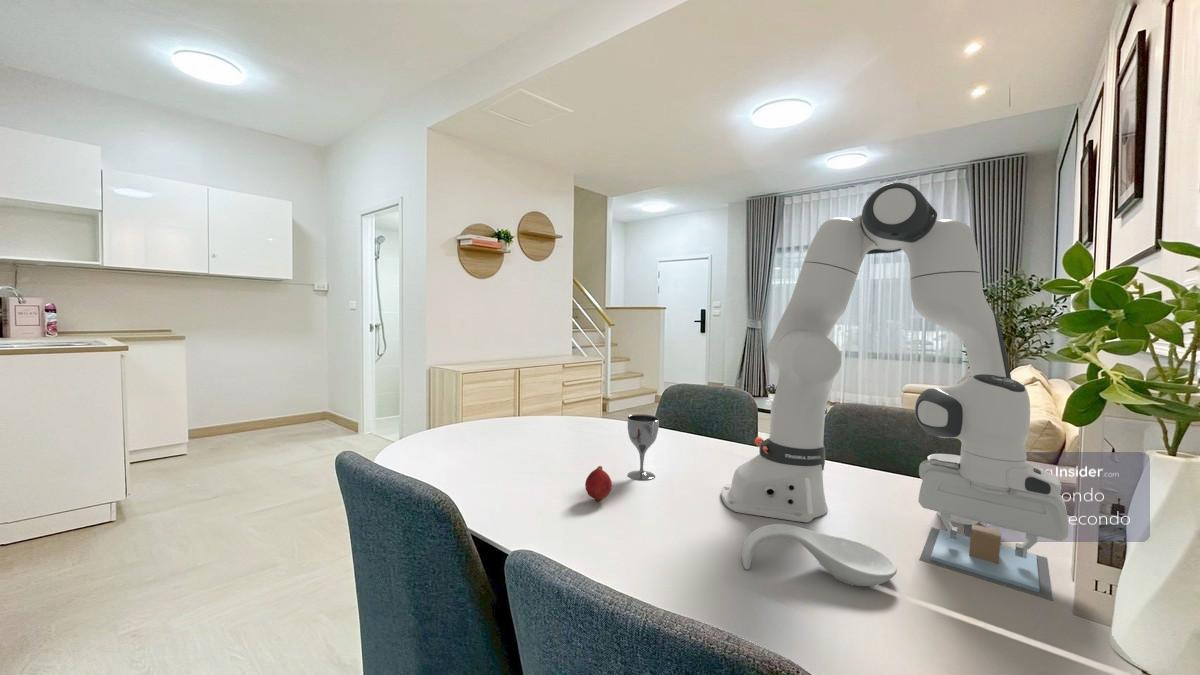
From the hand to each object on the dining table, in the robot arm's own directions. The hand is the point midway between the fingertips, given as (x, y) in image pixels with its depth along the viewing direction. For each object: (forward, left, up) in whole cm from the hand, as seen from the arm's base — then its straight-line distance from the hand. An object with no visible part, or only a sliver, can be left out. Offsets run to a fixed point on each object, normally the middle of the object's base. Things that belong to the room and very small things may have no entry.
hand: (985, 546), depth 84 cm
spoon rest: (-31, -8, -3) cm, 32 cm away
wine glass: (-61, +32, -3) cm, 69 cm away
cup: (+6, +18, -3) cm, 19 cm away
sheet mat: (0, 0, -3) cm, 3 cm away
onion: (-70, +14, -3) cm, 72 cm away
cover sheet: (0, 0, -2) cm, 2 cm away
